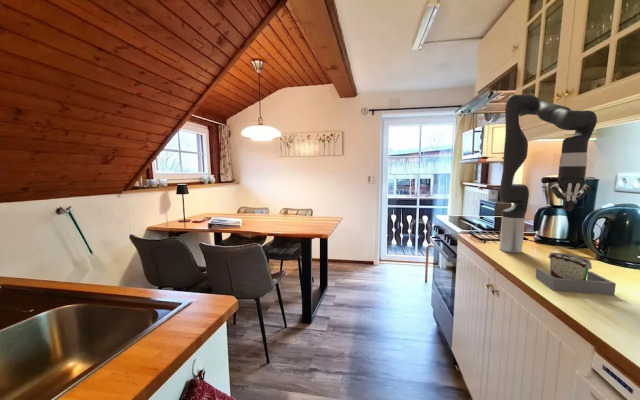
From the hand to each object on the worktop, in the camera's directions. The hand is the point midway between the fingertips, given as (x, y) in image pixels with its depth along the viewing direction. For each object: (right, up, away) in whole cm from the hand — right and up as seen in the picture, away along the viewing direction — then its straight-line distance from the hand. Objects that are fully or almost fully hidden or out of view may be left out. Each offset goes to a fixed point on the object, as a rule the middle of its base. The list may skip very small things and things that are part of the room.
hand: (567, 210), depth 103 cm
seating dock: (-8, -26, -9) cm, 29 cm away
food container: (-6, -26, -8) cm, 28 cm away
